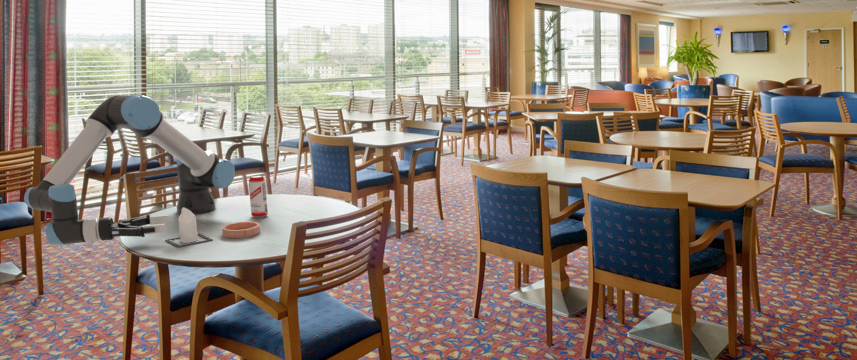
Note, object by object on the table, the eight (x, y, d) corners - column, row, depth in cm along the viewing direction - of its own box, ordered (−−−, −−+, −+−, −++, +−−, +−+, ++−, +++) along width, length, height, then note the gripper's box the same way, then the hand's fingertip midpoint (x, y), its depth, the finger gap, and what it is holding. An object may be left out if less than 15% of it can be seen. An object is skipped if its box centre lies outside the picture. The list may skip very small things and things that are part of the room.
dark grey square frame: (165, 241, 231) (165, 239, 230) (199, 234, 238) (199, 233, 238) (178, 247, 222) (178, 246, 221) (213, 240, 229) (212, 239, 229)
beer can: (263, 218, 259) (260, 177, 256) (248, 218, 260) (245, 177, 257) (270, 214, 265) (267, 174, 262) (255, 214, 266) (252, 174, 263)
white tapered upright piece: (197, 205, 230) (189, 208, 224) (201, 238, 232) (193, 243, 227) (181, 204, 231) (173, 208, 225) (185, 238, 233) (176, 242, 228)
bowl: (217, 234, 238) (216, 226, 237) (250, 227, 246) (249, 219, 245) (232, 240, 228) (231, 232, 228) (266, 233, 236) (265, 225, 236)
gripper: (108, 231, 234) (172, 225, 239) (93, 250, 210) (165, 243, 216) (105, 210, 232) (170, 205, 238) (90, 227, 209) (162, 220, 214)
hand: (168, 223), depth 227 cm, fingers open, 13 cm apart
